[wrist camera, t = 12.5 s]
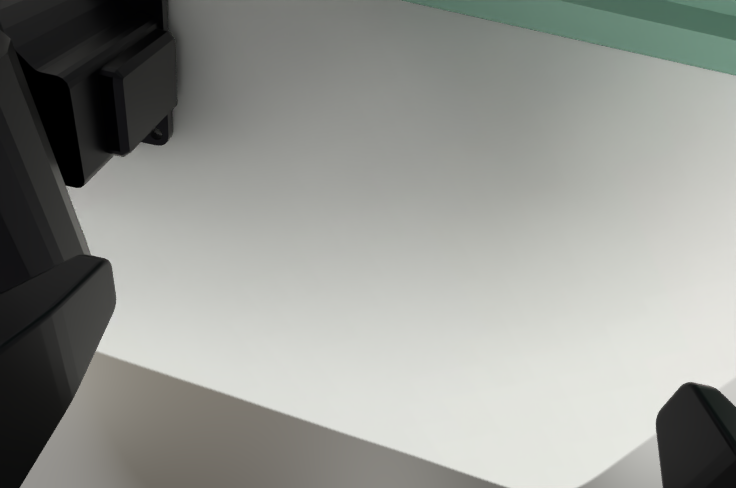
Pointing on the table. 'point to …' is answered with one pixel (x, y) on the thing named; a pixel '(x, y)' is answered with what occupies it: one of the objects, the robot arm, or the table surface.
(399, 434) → the table surface
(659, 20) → the parts tray
